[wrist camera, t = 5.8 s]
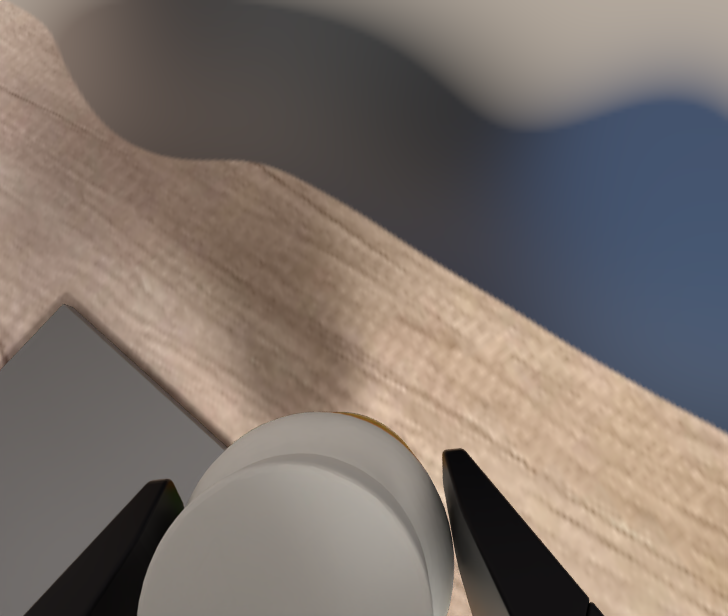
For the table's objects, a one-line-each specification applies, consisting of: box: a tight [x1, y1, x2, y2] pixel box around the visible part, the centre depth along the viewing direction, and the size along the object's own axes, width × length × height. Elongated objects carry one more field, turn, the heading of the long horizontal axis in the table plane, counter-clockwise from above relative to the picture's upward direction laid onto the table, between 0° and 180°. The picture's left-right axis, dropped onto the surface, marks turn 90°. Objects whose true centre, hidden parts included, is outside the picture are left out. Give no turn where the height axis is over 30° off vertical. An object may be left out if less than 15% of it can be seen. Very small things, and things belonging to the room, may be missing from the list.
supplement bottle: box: [137, 412, 454, 616], centre depth 11 cm, size 5×5×10 cm
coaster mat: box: [0, 304, 227, 616], centre depth 20 cm, size 11×11×1 cm
